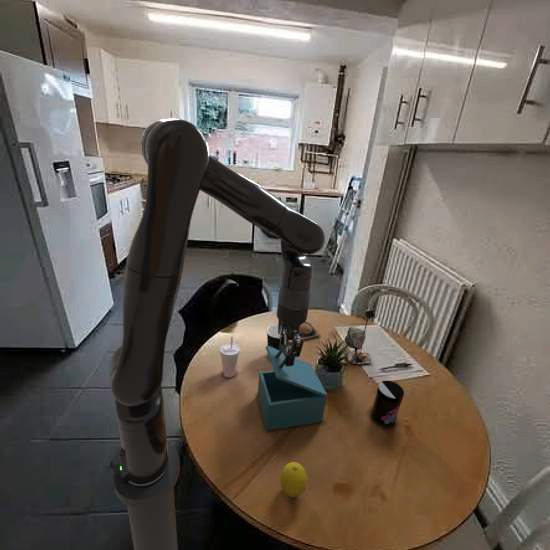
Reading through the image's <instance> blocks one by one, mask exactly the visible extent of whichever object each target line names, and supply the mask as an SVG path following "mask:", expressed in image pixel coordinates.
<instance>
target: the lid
mask: <svg viewBox="0 0 550 550" xmlns="http://www.w3.org/2000/svg"><path fill="white" fill-rule="evenodd" d="M280 347H281V349H280V350H277V349H274V348H272V347H270V346H268V345H266V346H265V350H266V353H267V356H268V359H269V358H270V359H269V361H270V364H271V366H272V369H273V370H274V372H275V375H276V377H277V379H279V380H282V381H285V382H287V383H290V384H293V385H295V386H298V387H300V388H303V389H306V390H308V391H311V392H314V393H316V394H319V395H322V396H324V397H326V398H327V396H328V393H327V392H326V389H325V387H324V386H323V384H322V382H321V380H320V379H319V376H318V375H317V372H316V371H315V369H314V367H313V366H312V364H311V363H309V362H307V361H305V360H302V359H300V358H299V357H295V360H294V365H293V366H288V367H287V366H286V365H285V359H286V345H285V342H284V343H282V344H281V346H280ZM282 352H283V353H282Z"/></svg>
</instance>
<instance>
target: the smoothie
mask: <svg viewBox="0 0 550 550" xmlns="http://www.w3.org/2000/svg"><path fill="white" fill-rule="evenodd" d="M219 354H220V358H221V366H222V372H223V373H222V374H223V376H224V377H225V378H229V379H230V378H233V377H235V375H236V371H237V367H238V366H237V365H238V359H239V355H240V354H241V347H240V345H238V344H236V343H234V336H233V335H231V336H230V342H227V343H224V344H222V345H221V346H220V348H219Z"/></svg>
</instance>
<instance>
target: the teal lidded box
mask: <svg viewBox="0 0 550 550" xmlns="http://www.w3.org/2000/svg"><path fill="white" fill-rule="evenodd" d="M257 385H258V386H257V398H258V402H259V405H260V409H261V413H262V417H263V420H264V425H265V428H266V429H265V430H266V431H271V430H278V429H285V428H290V427H291V428H292V427H297V426H304V425H311V424H316V423H322V421H323V417H324V412H325V408H326V402H327V396H326V397H324V396H322V395H319V394H316V393H314V392H311V391H308V390H306V389H303V388H300V387H298V386H295V385H293V384H290V383H287V382H285V381H282V380H279V379H277V377H276V375H275V372H274V369H273V370H265V371H259V372H258V383H257Z"/></svg>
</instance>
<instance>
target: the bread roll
mask: <svg viewBox="0 0 550 550" xmlns="http://www.w3.org/2000/svg"><path fill="white" fill-rule="evenodd" d="M299 327H300V334H299V338H300V339H301V338H303V340H304V341H305V340H309V339H315V338H319V337H320V335H319V333H318V332H317V330H315V328H314V327H313V326H312V324H311V323H310V322H308V321H305V322H304V323H303V324H301V325H300V326H299Z"/></svg>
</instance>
